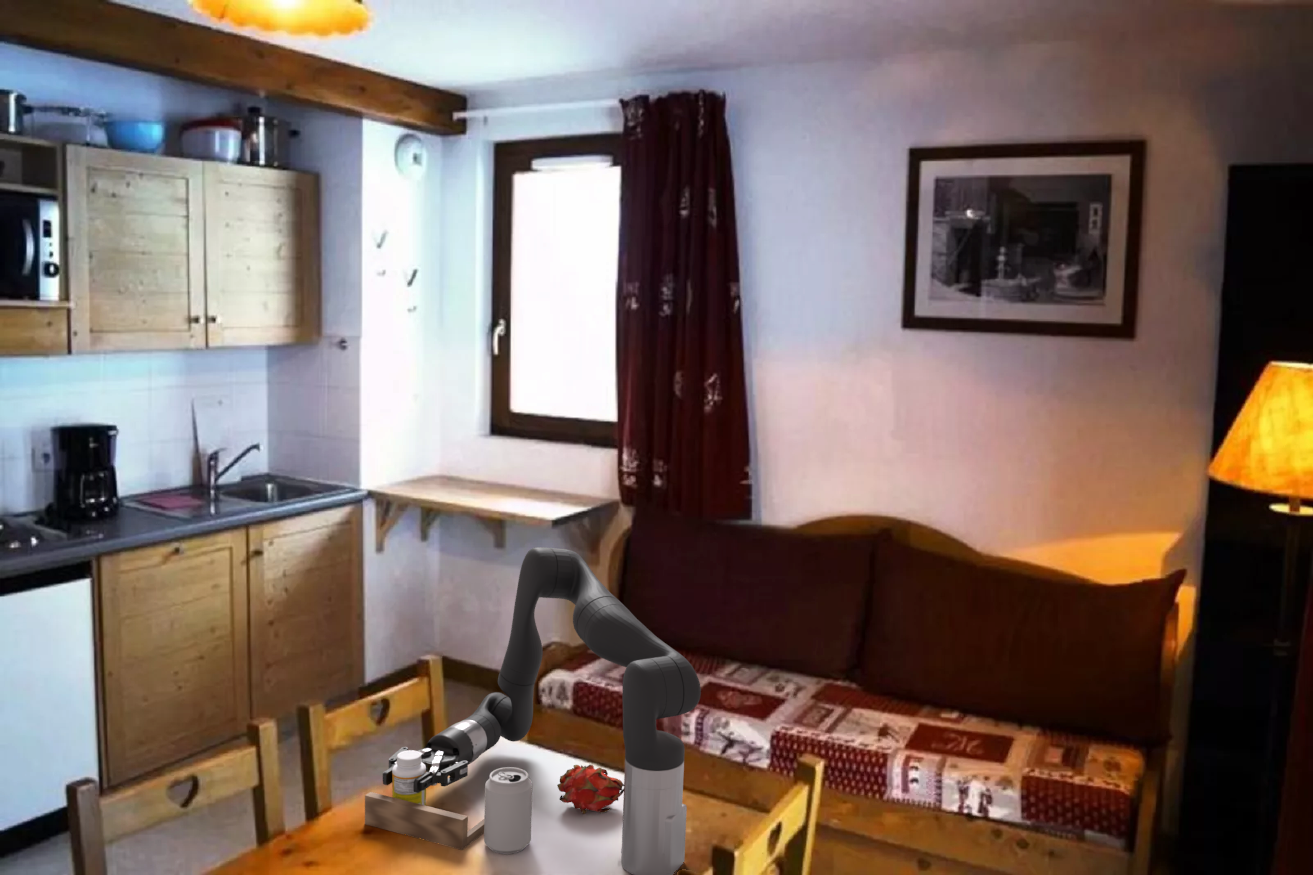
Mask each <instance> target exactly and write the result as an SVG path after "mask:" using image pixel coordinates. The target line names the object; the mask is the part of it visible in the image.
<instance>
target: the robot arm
mask: <svg viewBox="0 0 1313 875" xmlns="http://www.w3.org/2000/svg"><path fill="white" fill-rule="evenodd" d="M515 594H516V595H515V600H514V608H513V614H512V621H511V628H510V635H509V640H508V644H507V648H506V650H505V655H504V658H503V661H502V664H501V666H500V670H499V674H498V678H497V684H498V687H499V688H500V690H501V691H502V692H503V693H502V692H491V693H489V694H487V695H486V696H485V697H484V698H483V700H482V701H481V702H480V704H479V706H478V707H477V709H476V710H474V712H473V713H472V714H471V715H469V716H468V717H466V718H465V719H463V720H461V721H459V722H456V723H454V724H452V725H450V726H449V727H447V728H445V729H444V730H442V731H440V732H439V733H437V734H435V735H434V736H432V737H431V738H430V739H429V740H428V741H427V743H426V745H425V747H424V748H421V749H418V750H417V749H416V751H418V752H420V753H421V760H422V761H421V762H422V763H424V764H425V766H426V773H424V774H423V775H421V776H419V777H418V778H416V779H415V780H414V785H413V791H414V792H416V793H419V792H421V791H422V790H425V789H426V790H427V789H428V788H429V787H434V786H437V785H438V784H440V786H441V787H447V786H450V785H451V784H454V783H456V782H458V781H460V780H462V779H464V778H466V777H468V775H469V774H468V772H469V770H468V769H469V765H470V764H472V763H473V762H475V761H476V760H477V759H478V758H479V757H480V756H482V755H483V754H484V753H485V752H487V751H488V750H490V749H491V748H493V747H494V746H495V745H496V744H497V743H498V742H499V740H500V738H501V737H502V738H503V739H505V740H507V741H510V742H519V741H521V740H522V739H524V737H526V736H527V734H528V733H529V731H530V729H531V726H532V722H533V719H534V718H533V716H534V691H535V690H534V688H535V684H536V680H537V678H538V674H539V670H540V667H541V665H542V662H543V661H542V659H543V654H544V653H543V644H542V643H543V642H542V641H541V637H540V634H539V631H538V627H537V623H536V619H535V610H536V606H537V604H538V601H539V599H540V598H544V599H559V600H560V599H561V600H566V601H570V602H571V603H572V604H573V605H574V609H573V614H572V624H573V629H574V631H575V633H576V634H577V636H578V637H579V638H580V639H581V641H582V642H583V643H584V645H586V647H587V648H588V649H589V650H590V651H591V652H593V653H594V655H596V656H598V657H600V658H601V659H604V660H605V661H608V662H611V663H613V664H616V665H618V666H621V667H624V668H625V670H624V673H623V677H622V694H621V695H622V736H623V744H624V776H623V780H624V781H623V784H624V786H623V789H624V792H623V804H622V805H623V807H622V831H621V851H620V853H621V859H620V860H621V861H620V863H621V866H622V868H623V869H624V870H625V871H626V872H628V873H629V874H631V875H673V874H675V873H676V872H677V871H678V870H679V869H680V867H681V866H682V865H683V864H684V863H685V853H686V852H685V850H686V834H687V832H686V831H687V811H688V810H687V805H686V804H684V803H683V798H684V797H683V795H684V794H683V792H684V791H683V790H684V773H685V772H684V771H685V744H684V742H683V741H682V739H681V738H680V737H678V736H677V735H675V734H672V733H671V732H667V731H664V730H658V729H657V720H660V719H665V718H671V717H677V716H682V715H685V714H688V713H689V712H691V711H693V710H694V709H695V708H696V707H697V706H698V704H699V703H700V700H701V694H702V692H701V691H702V688H701V683H700V679H699V676H698V675H697V672H696V670H695V669H694V666H693V665H692V664H691V663H690V661H688V659H687V658H685V656H683V655H682V654H681V653H680V652H679V651H677V650H676V649H674V648H673V647H671V646H670V645H668V644H667V643H665V642H664V641H663V640H662V639H660V638H659V637H657V636H656V635H655V634H654V633H653V632H652V631H651V630H649V628H647V626H645V625H644V623H642V622H641V621H640V620H639V619H637V617H636V616H635V615H634V614H633V613H632V612H631V611H630V609H628V607H626V606H625V605H624V604H623V602H621V601H620V600H619V598H617V597H616V596H615V595H614V594H613V593H611V592H610V590H608V588H606V586H605V585H604V584H603V583H602V582H601V581H600V580H599V579H598V577H597V576H596V575H595V574H594V572H593V570H592V569H591V568H590V567H589V565H588V563H587V562H586V561H585V559H583V557H582V556H581V555H580V554H579V553H578V552H576V551H574V550H571V549H566V548H556V547H555V548H553V547H540V546H539V547H532V548H531V549H529V550H528V552H526V554H525V556H524V558H523V560H522V563H521V566H520V571H519V576H518V581H517V590H516V593H515ZM407 750H409V747H407V746H402V747H401V748H399V749H398V750H397V751H396V752H394V754H393V755H391V756H390V757H389V758H388V768H387V769H386V770H384V771H383V772H382V784H383V785H384V786H390V785H391V784H392V769H393V767H394V765H396V764H397V755H398V754H399V753H400V752H403V751H407ZM683 862H684V863H683ZM676 870H677V871H676ZM675 871H676V872H675ZM674 872H675V873H674Z"/></svg>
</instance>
